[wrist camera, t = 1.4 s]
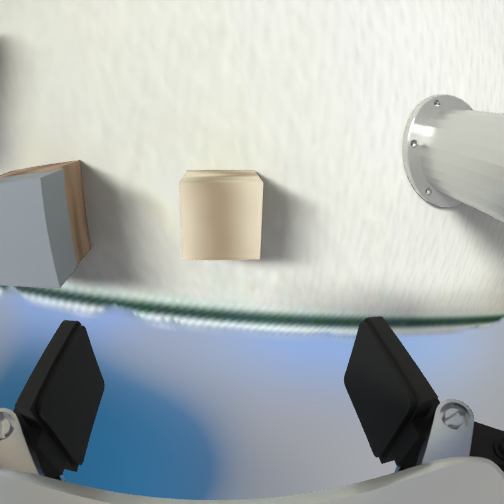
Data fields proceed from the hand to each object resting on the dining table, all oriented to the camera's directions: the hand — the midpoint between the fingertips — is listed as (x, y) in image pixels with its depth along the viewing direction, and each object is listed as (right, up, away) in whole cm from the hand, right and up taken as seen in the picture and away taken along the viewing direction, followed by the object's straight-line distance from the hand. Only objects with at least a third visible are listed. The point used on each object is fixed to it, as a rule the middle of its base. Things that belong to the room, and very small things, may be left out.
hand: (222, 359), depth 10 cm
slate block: (-19, +6, +13) cm, 24 cm away
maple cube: (-2, +8, +18) cm, 20 cm away
